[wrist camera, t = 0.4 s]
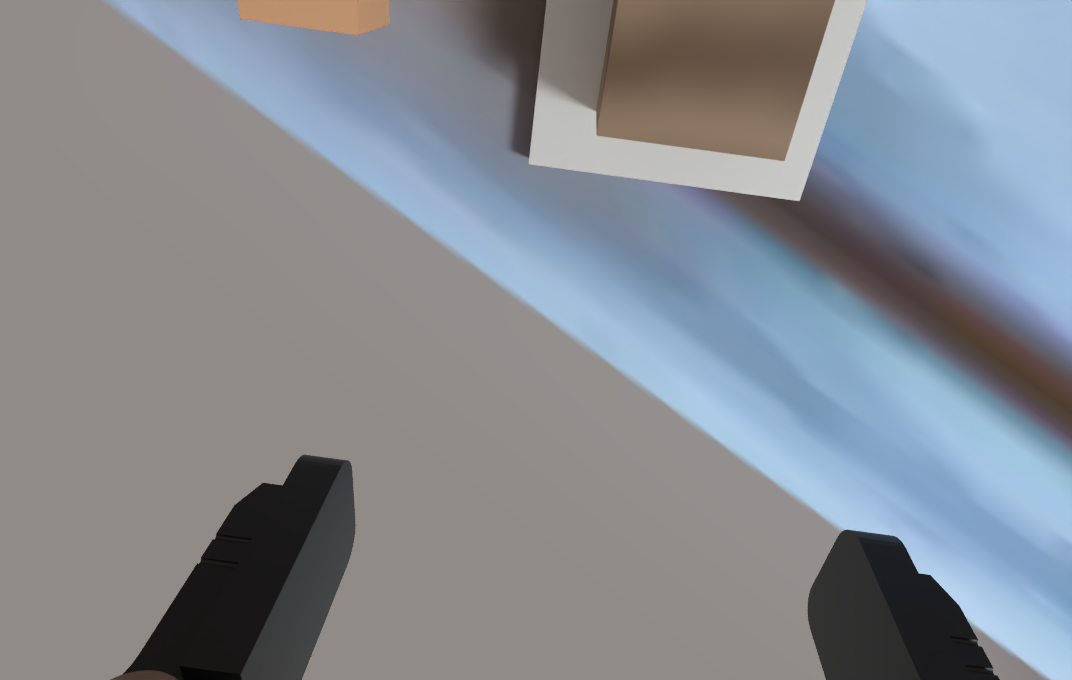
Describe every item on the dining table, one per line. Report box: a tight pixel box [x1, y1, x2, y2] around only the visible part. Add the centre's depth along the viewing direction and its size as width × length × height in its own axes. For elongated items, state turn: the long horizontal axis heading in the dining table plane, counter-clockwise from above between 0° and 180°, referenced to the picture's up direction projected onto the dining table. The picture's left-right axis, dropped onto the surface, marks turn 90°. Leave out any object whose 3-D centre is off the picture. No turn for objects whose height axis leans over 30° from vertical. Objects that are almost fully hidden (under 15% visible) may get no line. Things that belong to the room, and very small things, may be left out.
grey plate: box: [529, 0, 867, 201], centre depth 30 cm, size 14×14×1 cm
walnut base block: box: [596, 0, 835, 161], centre depth 27 cm, size 8×8×5 cm
